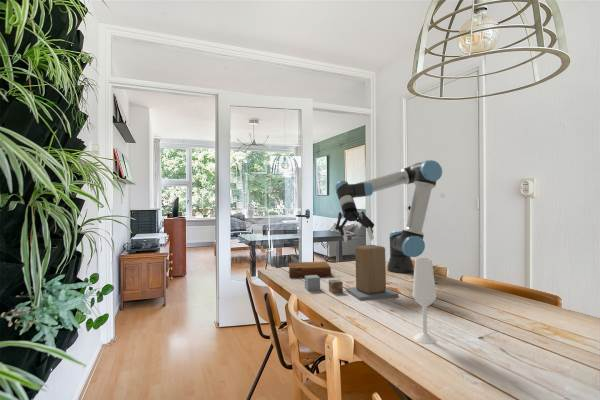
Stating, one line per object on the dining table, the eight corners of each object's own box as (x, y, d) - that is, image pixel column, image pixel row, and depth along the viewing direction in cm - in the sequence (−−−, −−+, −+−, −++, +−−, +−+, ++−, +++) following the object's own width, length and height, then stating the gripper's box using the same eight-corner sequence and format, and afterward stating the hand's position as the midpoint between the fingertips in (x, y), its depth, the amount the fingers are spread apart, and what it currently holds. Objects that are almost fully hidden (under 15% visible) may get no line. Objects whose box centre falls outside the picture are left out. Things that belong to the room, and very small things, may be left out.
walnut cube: (339, 290, 162) (338, 279, 162) (342, 292, 157) (342, 281, 157) (328, 290, 161) (328, 280, 161) (332, 293, 156) (332, 282, 156)
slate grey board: (381, 287, 164) (381, 285, 164) (398, 296, 148) (398, 293, 148) (345, 290, 160) (345, 288, 160) (359, 300, 144) (359, 297, 144)
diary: (289, 279, 189) (289, 268, 189) (288, 272, 208) (288, 262, 208) (331, 277, 191) (330, 266, 191) (326, 270, 209) (326, 261, 209)
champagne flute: (421, 332, 108) (419, 256, 108) (441, 339, 102) (439, 258, 103) (408, 338, 104) (407, 258, 104) (429, 345, 98) (427, 261, 98)
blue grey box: (316, 287, 168) (316, 274, 168) (320, 290, 162) (320, 277, 162) (304, 288, 167) (304, 275, 167) (307, 291, 161) (307, 278, 161)
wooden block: (355, 289, 157) (354, 245, 157) (373, 287, 161) (372, 244, 161) (368, 295, 148) (367, 248, 148) (386, 292, 152) (386, 246, 152)
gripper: (368, 209, 186) (380, 242, 173) (323, 211, 180) (333, 245, 167) (372, 200, 180) (385, 234, 167) (327, 202, 174) (336, 236, 161)
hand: (359, 239), depth 167 cm, fingers open, 13 cm apart
